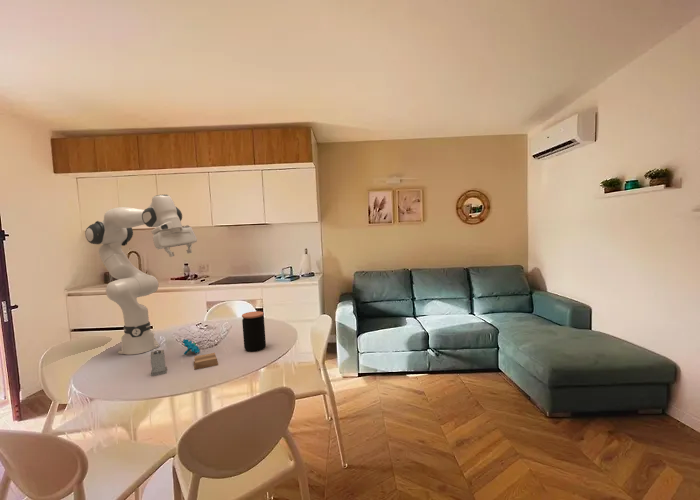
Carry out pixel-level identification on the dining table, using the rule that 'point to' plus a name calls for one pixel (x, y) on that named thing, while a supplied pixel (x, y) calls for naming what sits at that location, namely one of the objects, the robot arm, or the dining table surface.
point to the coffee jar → (253, 331)
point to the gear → (191, 346)
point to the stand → (205, 361)
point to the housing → (158, 363)
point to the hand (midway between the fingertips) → (181, 254)
